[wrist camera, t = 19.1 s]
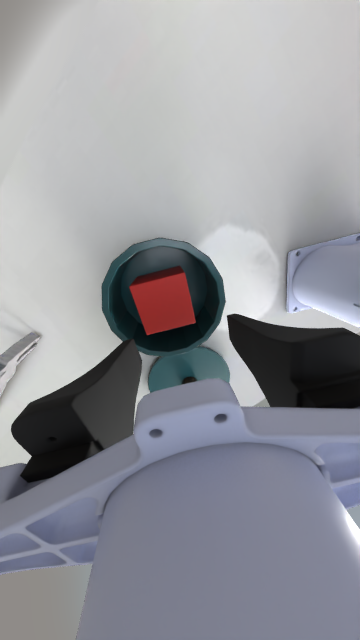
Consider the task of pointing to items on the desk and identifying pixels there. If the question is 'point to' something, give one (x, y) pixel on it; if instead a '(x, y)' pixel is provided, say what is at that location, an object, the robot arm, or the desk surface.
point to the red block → (163, 300)
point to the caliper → (15, 358)
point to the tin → (154, 258)
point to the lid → (187, 369)
